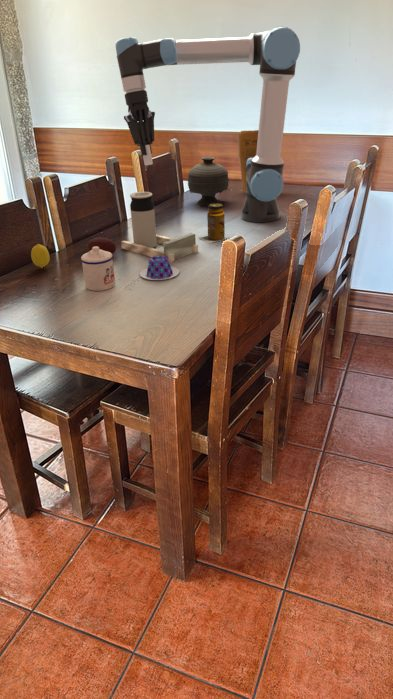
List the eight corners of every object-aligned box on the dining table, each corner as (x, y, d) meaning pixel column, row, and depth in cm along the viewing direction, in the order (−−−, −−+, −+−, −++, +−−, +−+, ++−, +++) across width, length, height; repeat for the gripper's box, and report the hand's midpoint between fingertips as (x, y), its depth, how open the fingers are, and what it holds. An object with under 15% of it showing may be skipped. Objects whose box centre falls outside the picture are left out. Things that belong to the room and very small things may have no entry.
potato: (94, 251, 183) (92, 233, 180) (121, 253, 180) (119, 235, 177) (84, 258, 177) (81, 240, 174) (111, 260, 174) (109, 242, 171)
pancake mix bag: (277, 195, 243) (280, 130, 230) (237, 194, 248) (237, 130, 235) (279, 192, 249) (282, 128, 235) (240, 191, 254) (240, 128, 240)
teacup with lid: (110, 292, 150) (105, 252, 145) (80, 291, 152) (74, 252, 146) (122, 276, 161) (118, 239, 155) (94, 275, 162) (89, 238, 156)
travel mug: (161, 245, 185) (157, 193, 177) (144, 251, 180) (140, 198, 172) (146, 241, 190) (142, 190, 181) (129, 247, 185) (124, 194, 176)
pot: (237, 198, 238) (234, 152, 227) (217, 211, 225) (213, 163, 215) (203, 196, 246) (199, 151, 236) (182, 208, 234) (177, 162, 224)
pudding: (135, 271, 165) (133, 255, 162) (171, 265, 168) (170, 249, 166) (146, 284, 155) (144, 268, 152) (184, 278, 159) (183, 261, 156)
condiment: (229, 238, 190) (229, 205, 184) (210, 243, 186) (209, 209, 180) (217, 234, 195) (217, 201, 189) (198, 238, 191) (197, 205, 185)
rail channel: (121, 248, 184) (120, 231, 181) (149, 239, 192) (147, 222, 189) (171, 262, 170) (169, 244, 167) (198, 251, 178) (197, 234, 175)
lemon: (35, 272, 166) (31, 248, 163) (32, 267, 171) (27, 243, 167) (53, 269, 169) (49, 244, 165) (49, 264, 173) (44, 240, 169)
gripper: (141, 91, 184) (154, 162, 193) (113, 94, 175) (128, 168, 184) (156, 88, 179) (169, 160, 188) (128, 90, 170) (143, 167, 179)
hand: (148, 164), depth 186 cm, fingers closed
